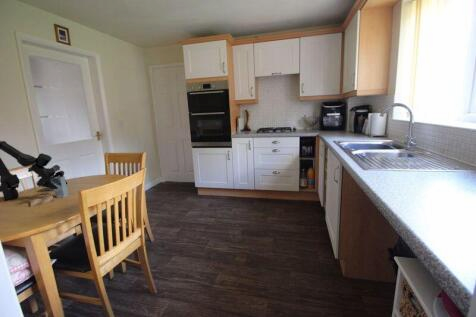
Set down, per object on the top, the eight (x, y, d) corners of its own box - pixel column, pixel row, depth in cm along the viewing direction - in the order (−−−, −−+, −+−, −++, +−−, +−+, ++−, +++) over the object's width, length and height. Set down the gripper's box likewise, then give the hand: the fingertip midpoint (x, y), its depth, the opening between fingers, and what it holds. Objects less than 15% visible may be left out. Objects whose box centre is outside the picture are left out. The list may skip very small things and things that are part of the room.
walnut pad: (30, 206, 137) (30, 204, 136) (30, 202, 144) (30, 200, 144) (54, 201, 144) (53, 199, 144) (52, 197, 151) (52, 195, 151)
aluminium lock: (64, 196, 151) (60, 178, 149) (55, 197, 151) (51, 178, 148) (68, 194, 155) (64, 176, 152) (60, 195, 155) (56, 176, 152)
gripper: (37, 165, 139) (59, 182, 142) (59, 159, 157) (78, 173, 160) (26, 178, 140) (49, 194, 143) (49, 170, 158) (68, 185, 161)
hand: (62, 186), depth 152 cm, fingers open, 9 cm apart
